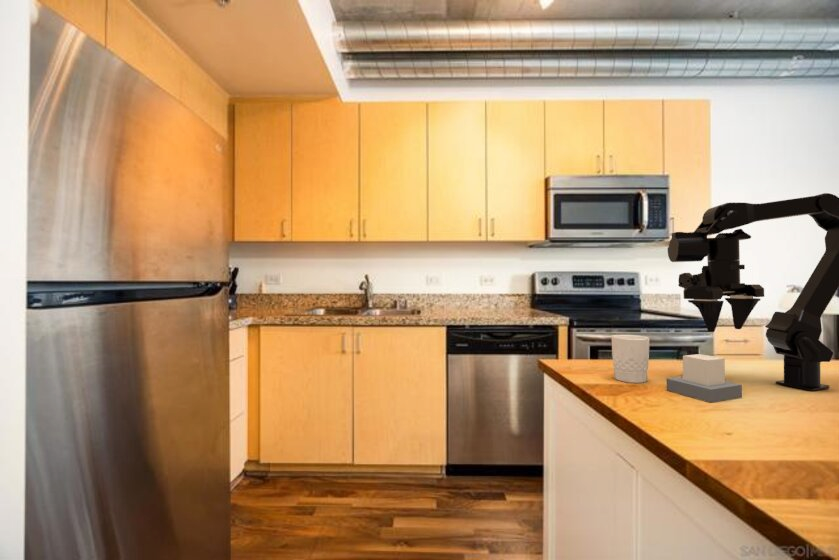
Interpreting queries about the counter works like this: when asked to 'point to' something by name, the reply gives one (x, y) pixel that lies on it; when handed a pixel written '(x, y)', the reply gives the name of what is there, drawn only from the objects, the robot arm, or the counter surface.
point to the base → (705, 390)
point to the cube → (704, 369)
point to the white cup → (630, 357)
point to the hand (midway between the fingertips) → (724, 330)
